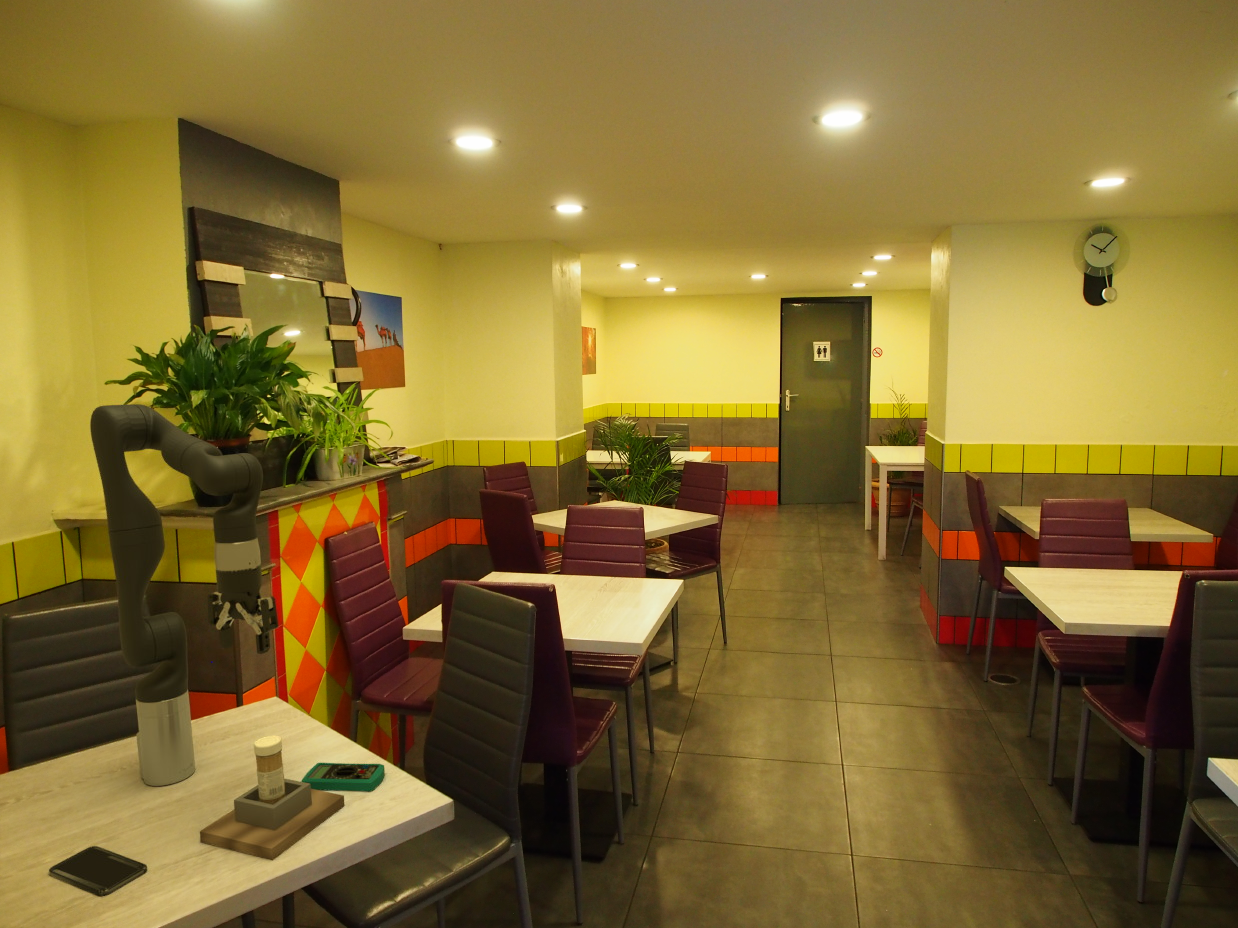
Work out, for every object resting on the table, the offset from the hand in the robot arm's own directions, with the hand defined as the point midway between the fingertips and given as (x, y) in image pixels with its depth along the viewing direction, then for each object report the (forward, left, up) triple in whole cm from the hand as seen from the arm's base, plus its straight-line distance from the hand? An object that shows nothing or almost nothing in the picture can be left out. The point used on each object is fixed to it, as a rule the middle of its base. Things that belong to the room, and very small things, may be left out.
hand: (245, 650), depth 151 cm
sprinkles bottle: (+8, -4, -28) cm, 29 cm away
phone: (-9, -25, -31) cm, 41 cm away
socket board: (+8, -4, -30) cm, 31 cm away
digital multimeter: (+10, +12, -31) cm, 35 cm away
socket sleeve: (+8, -4, -28) cm, 29 cm away
